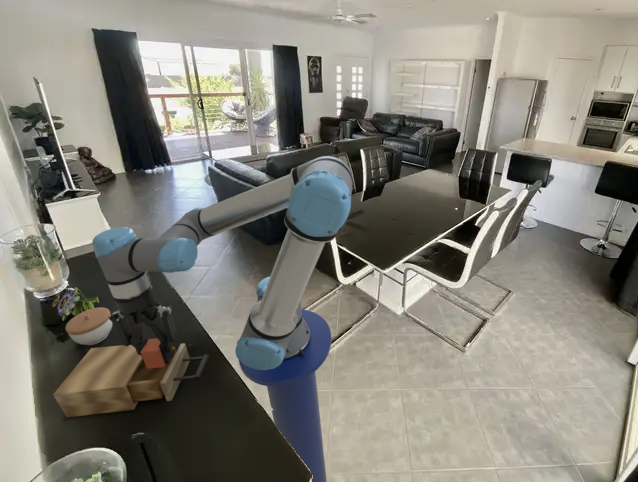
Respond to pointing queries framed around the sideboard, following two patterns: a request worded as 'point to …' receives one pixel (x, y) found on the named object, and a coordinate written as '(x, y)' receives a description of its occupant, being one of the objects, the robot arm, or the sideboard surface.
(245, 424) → the sideboard surface
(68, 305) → the passion flower
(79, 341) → the trinket box
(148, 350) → the block
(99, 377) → the cabinet
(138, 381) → the drawer
